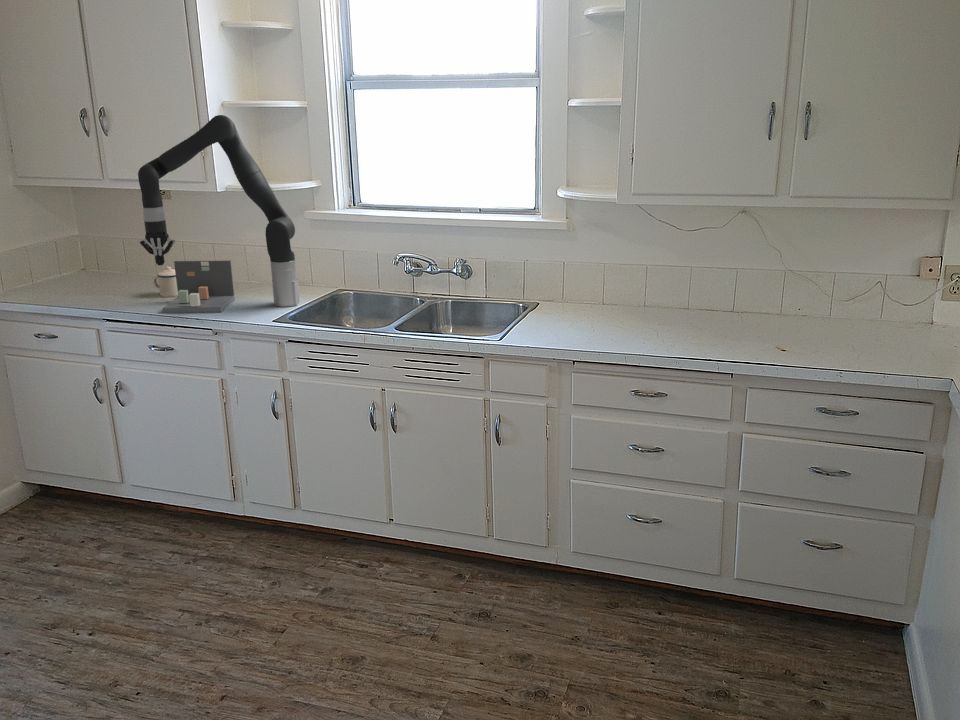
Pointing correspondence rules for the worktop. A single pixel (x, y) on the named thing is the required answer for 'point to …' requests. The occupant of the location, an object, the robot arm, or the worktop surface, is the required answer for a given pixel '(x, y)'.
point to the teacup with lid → (167, 282)
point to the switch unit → (203, 285)
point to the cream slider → (194, 299)
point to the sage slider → (183, 296)
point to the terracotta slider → (203, 292)
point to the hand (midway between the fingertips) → (160, 264)
